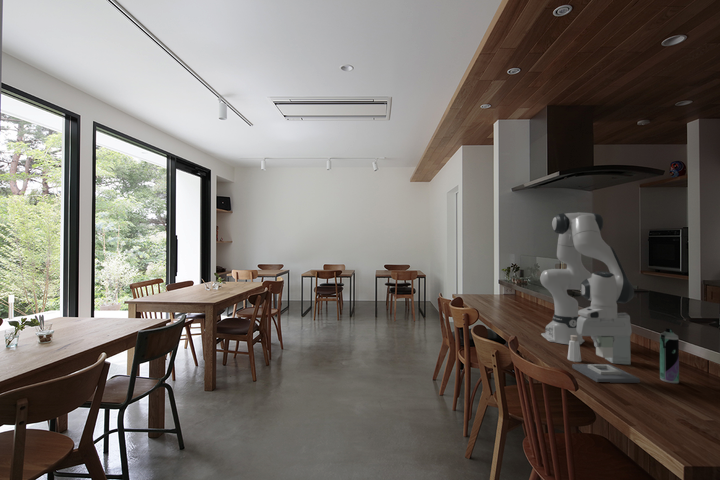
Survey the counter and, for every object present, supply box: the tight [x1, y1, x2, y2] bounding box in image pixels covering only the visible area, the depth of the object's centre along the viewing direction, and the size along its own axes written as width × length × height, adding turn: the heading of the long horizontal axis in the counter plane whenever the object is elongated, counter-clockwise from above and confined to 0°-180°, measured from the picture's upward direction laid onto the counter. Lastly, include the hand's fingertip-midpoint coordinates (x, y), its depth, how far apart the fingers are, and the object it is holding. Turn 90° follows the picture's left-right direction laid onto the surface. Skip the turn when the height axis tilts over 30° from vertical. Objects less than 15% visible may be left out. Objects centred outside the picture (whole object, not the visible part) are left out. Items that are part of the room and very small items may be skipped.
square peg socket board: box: [571, 363, 641, 384], centre depth 142 cm, size 16×16×3 cm
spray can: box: [659, 327, 680, 384], centre depth 136 cm, size 6×6×20 cm
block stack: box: [595, 336, 613, 359], centre depth 142 cm, size 4×4×8 cm
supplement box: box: [604, 335, 632, 366], centre depth 158 cm, size 7×7×13 cm
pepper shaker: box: [567, 335, 582, 363], centre depth 160 cm, size 5×5×11 cm
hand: (604, 346), depth 142 cm, fingers closed on block stack, 4 cm apart
